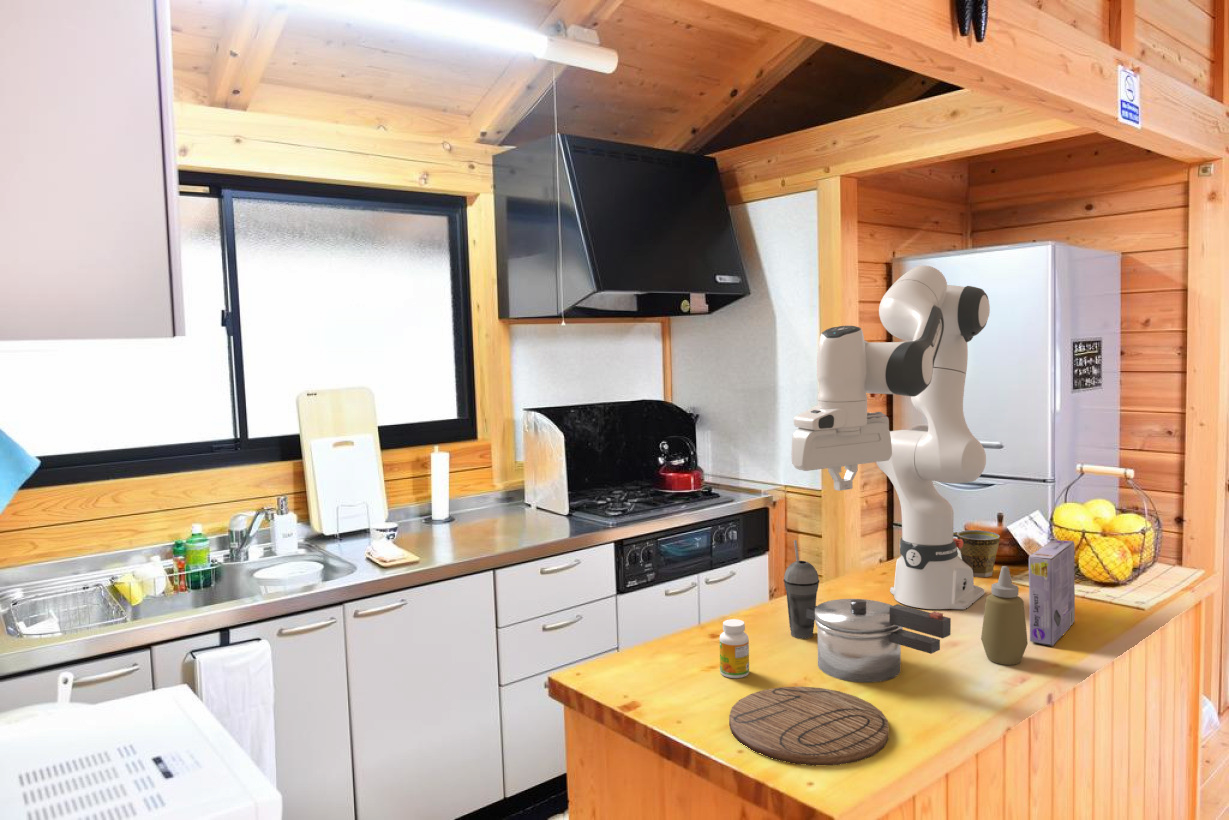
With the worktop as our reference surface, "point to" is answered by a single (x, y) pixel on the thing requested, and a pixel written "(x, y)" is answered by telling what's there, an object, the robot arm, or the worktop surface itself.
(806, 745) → the trivet
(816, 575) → the beverage cup
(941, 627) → the lid
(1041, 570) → the cake pan box
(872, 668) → the pot
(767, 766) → the worktop surface
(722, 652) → the supplement bottle
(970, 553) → the ceramic cup
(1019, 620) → the squeeze bottle
